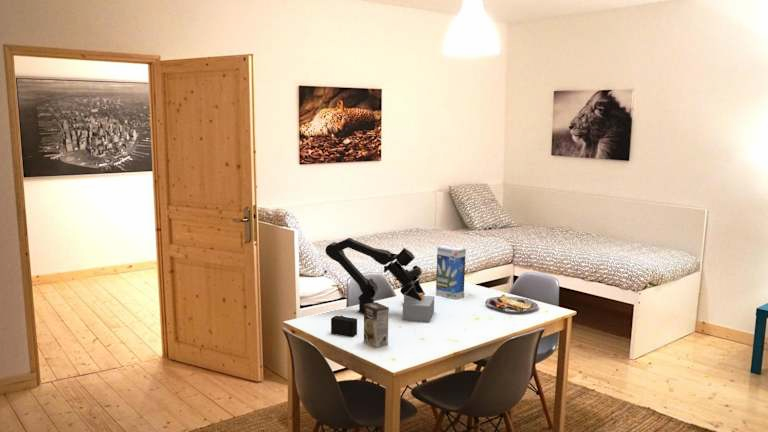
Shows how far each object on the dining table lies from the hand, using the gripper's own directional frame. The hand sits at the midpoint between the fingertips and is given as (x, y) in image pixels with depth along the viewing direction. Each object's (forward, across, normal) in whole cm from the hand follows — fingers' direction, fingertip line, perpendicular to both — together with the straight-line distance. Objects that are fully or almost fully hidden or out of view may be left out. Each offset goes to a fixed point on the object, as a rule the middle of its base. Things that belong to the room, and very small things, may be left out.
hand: (422, 297), depth 299 cm
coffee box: (-2, -41, +15) cm, 43 cm away
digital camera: (-13, -32, +26) cm, 43 cm away
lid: (0, 0, +3) cm, 3 cm away
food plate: (+35, +26, -21) cm, 49 cm away
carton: (+5, 0, +8) cm, 9 cm away
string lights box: (+12, +39, +1) cm, 41 cm away
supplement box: (+1, +17, +12) cm, 21 cm away
